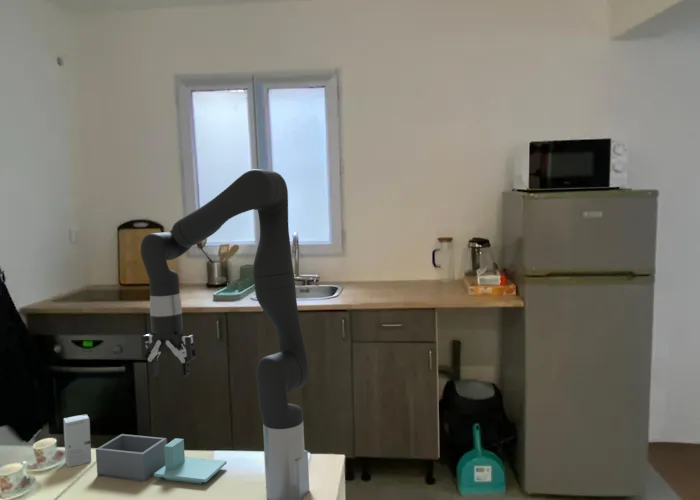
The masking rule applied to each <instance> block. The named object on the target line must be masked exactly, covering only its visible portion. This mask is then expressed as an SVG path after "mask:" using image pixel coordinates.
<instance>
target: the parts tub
mask: <svg viewBox="0 0 700 500" xmlns="http://www.w3.org/2000/svg"><path fill="white" fill-rule="evenodd" d="M166 444H168V439H167V438H166V437H158V436H157V437H156V436H148V435H147V436H145V435H136V434H135V435H134V434H125V433H121V434H119V435H117V436H115V437H114V438H112V439H111V440H108V442H106V443H104V444H103V445H101V446H99V447H97V448H95V457H96V458H95V460H96V474H97V477H103V478H112V479H117V480H118V479H121V480H127V481H128V480H129V481H136V482H137V481H138V482H144V483H145V482H146V481H148V480H149V479H150V478H152V477H153V476H154V473H155V472H157V471H158V470H159V469H161V468H162V467H163V466H165V452H164V446H165V445H166Z"/></svg>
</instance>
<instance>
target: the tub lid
mask: <svg viewBox="0 0 700 500" xmlns="http://www.w3.org/2000/svg"><path fill="white" fill-rule="evenodd" d="M184 440H185V439H184V438H179V437H178V438H177V437H176V438H173V439H172V440H171V441H170V442H167V444H166V445H165V446H164V452H165V466H163V467H162V468H161V469H159V470H158V471H157V472H155V473H154V475H153V476H154V477H157V478H163V479H164V480H166V481H175V482H183V483H191V484H192V483H193V484H200V485H201V484H202V483H206V482H208V481H209V480H211V478H212V477H213V476H215V475H216V474H217V473H218V472H219V471H220V470H221V469H222V468H223V467H224V466H226V465H227V463H228V462H227V460H222V459H211V458H201V457H195V456H194V457H192V456H186V455H185V441H184Z"/></svg>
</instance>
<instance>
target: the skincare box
mask: <svg viewBox="0 0 700 500" xmlns="http://www.w3.org/2000/svg"><path fill="white" fill-rule="evenodd" d="M62 420H63V438H64V439H63V440H64V453H65V454H64V455H65V464H66V466H67V468H70V467H74V466H80V465H83V464H88V463H91V462H92V444H91V423H90V422H91V421H90V417H89V416H88V414H87V413H86V414H81V415H74V416H69V417H64V418H63V419H62Z"/></svg>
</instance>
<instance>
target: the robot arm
mask: <svg viewBox="0 0 700 500" xmlns="http://www.w3.org/2000/svg"><path fill="white" fill-rule="evenodd" d="M288 192H289V190H288V187H287V183H286V181H285V179H284V177H283V176H282V175H281V174H280V173H279V172H276V171H273V170H267V169H262V168H254V169H249V170H247V171H246V172H244V173H242V174H241V175H240V176H239V177H237V178H236V179H235V180H234V181H233V182H232V183H231V184H230V185H228V187H226V188H225V189H224V190H222V191H221V192H220V193H219V194H217V195H216V196H214V197H213V198H212V199H211V200H210V201H208V202H206V203H205V204H204V205H202V206H201V207H199V208H197V209H195V210H194V211H192V212H191V213H189V214H187V215H185V216H184V217H182V218H180V219H179V220H177V221H176V222H175V223H174V224H173V225H172V228H171V230H169V231H168V230H167V231H165V232H164V231H163V232H150V233H149V234H146V235H145V236H144V237H143V239H142V240H141V244H140V255H141V259H142V262H143V265H144V268H145V271H146V275H147V276H148V281H149V295H150V296H149V299H150V300H149V314H150V315H149V317H150V327H151V328H150V329H151V333H152V334H151V333H147V334H144V335H142V336H141V339H140V341H141V343H140V344H141V359H143V360H145V359H146V360H147V361H148V362H149V372H150V374H151V376H152V377H157V376H158V375H160V364H159V356H160V355H161V354H165V353H167V354H173V355H174V357H177V358H178V360H179V361H180V377H181V378H187V377H189V375H190V374H191V366H190V365H191V364H190V362H191V361H192V360H194V359H196V358H197V350H196V349H197V347H196V341H195V335H193V334H191V335H188V336H187V335H183V329H184V326H183V325H184V324H183V311H182V310H183V309H182V298H181V292H180V277H179V274H178V272H177V271H176V270H172V269H170V268H169V265H168V262H167V261H171V260H175V259H177V258H179V257H181V256H183V255H184V254H185V253H186V252H188V251H189V250H190V249H191V248H192V247H193V246H195V245H196V244H197V245H198V243H199V244H200V242H202V241H204V240H206V239H208V238H209V237H211V236H213V235H214V234H215V233H216V232H218V231H219V230H220V229H221V227H222V226H223V225H224V224H226V222H227V221H229V220H231V219H232V218H233V217H236V216H238V215H241V214H243V213H246V212H249V211H252V210H256V211H257V213H258V219H259V220H258V221H259V229H260V231H259V234H260V235H259V239H258V240H259V241H258V244H257V245H258V246H257V249H256V253H255V257H254V261H253V267H252V269H253V270H252V274H253V281H254V282H253V283H254V292H255V297H256V299H257V303H258V304H259V306H260V308H261V309H262V310H263V312H264V314H266V316H267V317H268V319H269V320H270V322H271V323H272V325H273V326H274V328H275V331H276V335H277V338H278V346H279V352H276V353H273V354H270V355H266V356H264V357H262V358H261V359H260V360H259V362H258V364H257V366H256V372H255V373H256V374H255V375H256V388H257V397H258V408H259V410H260V414H261V417H262V427H263V428H262V429H263V446H264V447H263V450H264V454H263V455H264V469H265V470H264V473H265V475H264V476H265V491H266V498H267V500H303V499H304V497H305V496H306V495H307V493H308V492H309V490H310V481H309V480H310V477H309V475H310V473H309V471H310V470H309V451H308V450H306V449H305V429H304V410H303V408H302V407H301V406H300V405H298V404H294V403H289V401H288V395H287V393H289V392H293V391H296V390H298V389H300V388H303V387H304V386H305V385H306V384H307V382H308V378H309V363H308V362H309V361H308V357H307V352H306V348H305V344H304V339H303V335H302V328H301V323H300V316H299V310H298V309H299V308H298V302H297V301H298V300H297V292H296V291H297V289H296V280H295V272H294V265H293V258H292V247H291V239H290V232H289V231H290V230H289V229H290V228H289V193H288ZM152 343H153V344H154V346H153V348H152ZM184 345H185V346H184Z"/></svg>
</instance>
